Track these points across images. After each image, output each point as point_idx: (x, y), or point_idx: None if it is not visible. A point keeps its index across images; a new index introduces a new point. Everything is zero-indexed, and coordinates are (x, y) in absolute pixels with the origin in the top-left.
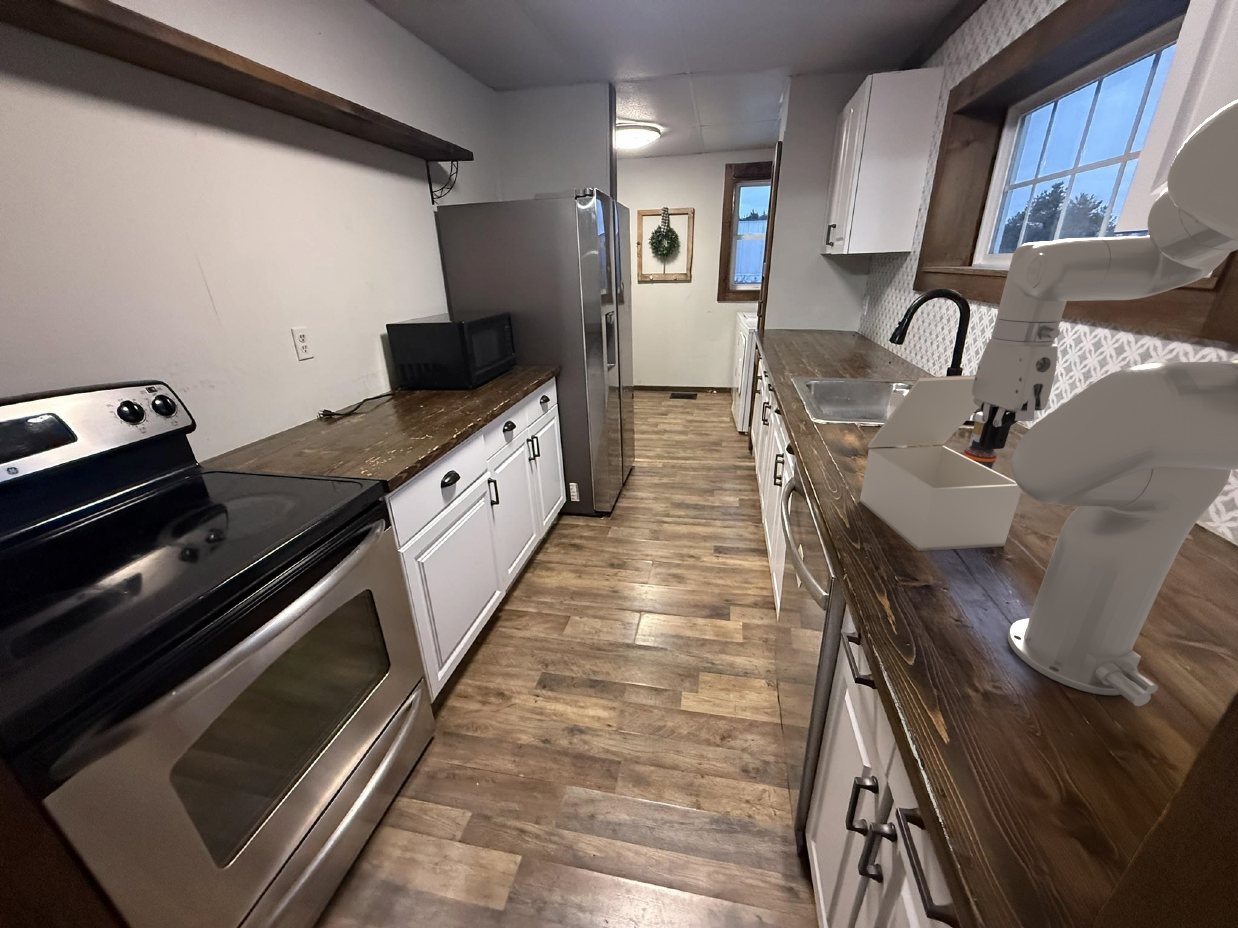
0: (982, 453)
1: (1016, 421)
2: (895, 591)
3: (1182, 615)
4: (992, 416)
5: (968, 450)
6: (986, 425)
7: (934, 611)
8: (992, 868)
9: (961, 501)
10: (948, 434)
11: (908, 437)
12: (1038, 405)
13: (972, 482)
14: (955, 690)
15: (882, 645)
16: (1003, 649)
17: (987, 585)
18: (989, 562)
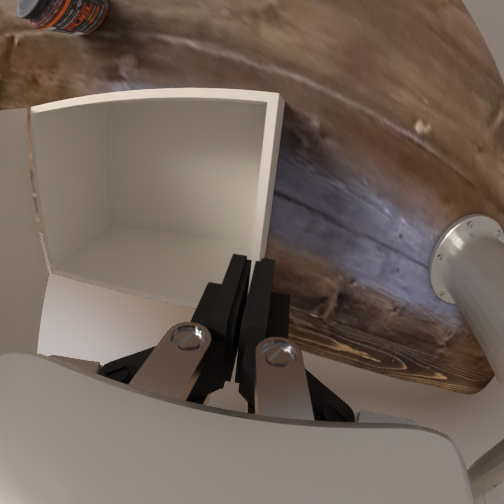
0: (53, 7)
1: (327, 395)
2: (334, 330)
3: (470, 63)
4: (200, 392)
5: (36, 25)
6: (224, 381)
7: (376, 318)
8: (475, 388)
9: (263, 238)
10: (15, 120)
11: (26, 220)
12: (402, 445)
13: (151, 99)
14: (434, 357)
15: (383, 374)
16: (436, 301)
17: (367, 226)
18: (322, 170)
